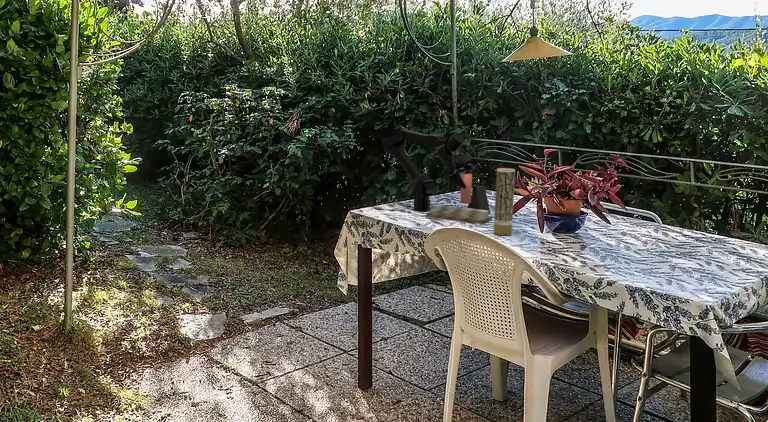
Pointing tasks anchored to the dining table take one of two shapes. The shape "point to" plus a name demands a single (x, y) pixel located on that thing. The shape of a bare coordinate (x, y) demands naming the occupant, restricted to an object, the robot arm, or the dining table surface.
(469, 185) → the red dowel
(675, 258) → the dining table surface
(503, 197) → the bark log
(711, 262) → the dining table surface
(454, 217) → the ridge board
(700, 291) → the dining table surface
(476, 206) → the door stopper
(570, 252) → the dining table surface
